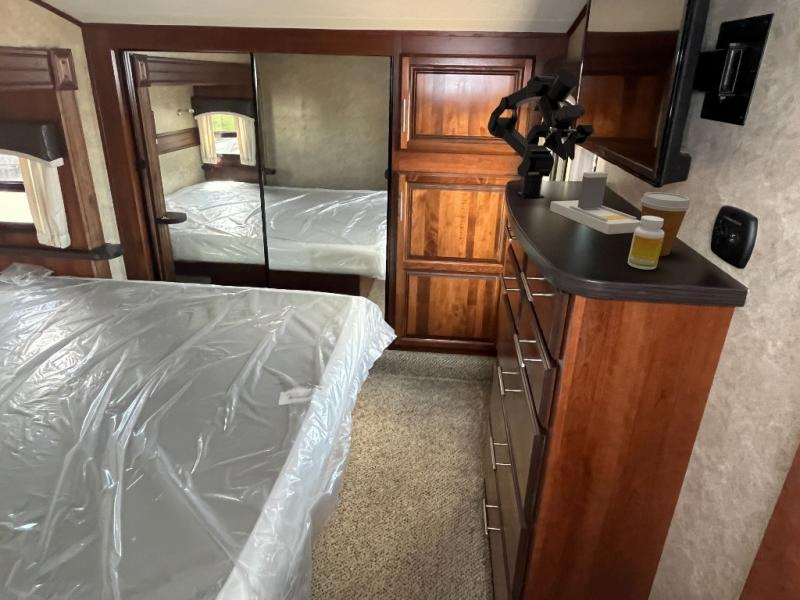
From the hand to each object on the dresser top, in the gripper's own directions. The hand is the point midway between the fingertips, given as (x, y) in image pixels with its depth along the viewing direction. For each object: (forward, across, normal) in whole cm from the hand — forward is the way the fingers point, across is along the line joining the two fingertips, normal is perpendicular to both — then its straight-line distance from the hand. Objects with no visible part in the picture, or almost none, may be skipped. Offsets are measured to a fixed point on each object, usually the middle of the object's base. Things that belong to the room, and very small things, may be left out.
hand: (569, 159), depth 142 cm
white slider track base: (+19, 0, 0) cm, 19 cm away
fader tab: (+16, 0, -1) cm, 16 cm away
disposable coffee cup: (+37, -4, -18) cm, 42 cm away
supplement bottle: (+42, -13, -23) cm, 50 cm away
